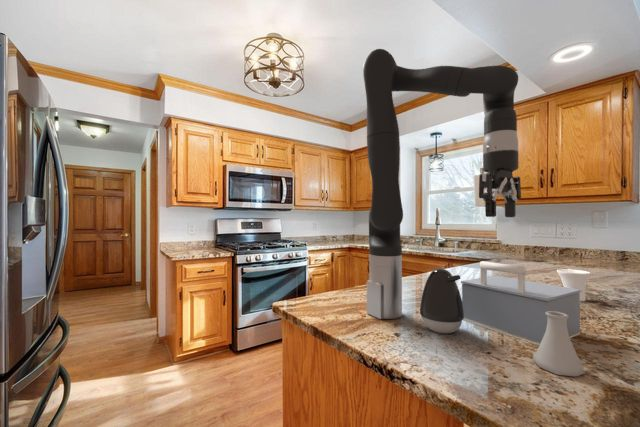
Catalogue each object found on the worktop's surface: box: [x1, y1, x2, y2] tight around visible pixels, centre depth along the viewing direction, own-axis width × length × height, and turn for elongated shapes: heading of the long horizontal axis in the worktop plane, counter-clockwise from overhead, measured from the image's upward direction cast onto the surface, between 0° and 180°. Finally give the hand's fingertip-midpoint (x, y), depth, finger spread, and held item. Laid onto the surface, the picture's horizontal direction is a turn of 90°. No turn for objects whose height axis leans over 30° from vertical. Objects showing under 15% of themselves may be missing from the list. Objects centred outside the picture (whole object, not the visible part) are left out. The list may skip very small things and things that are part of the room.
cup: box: [556, 268, 591, 302], centre depth 102 cm, size 9×9×10 cm
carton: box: [461, 283, 581, 346], centre depth 76 cm, size 16×20×10 cm
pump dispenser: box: [419, 268, 464, 335], centre depth 73 cm, size 10×10×15 cm
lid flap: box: [460, 260, 581, 301], centre depth 76 cm, size 16×20×7 cm
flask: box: [532, 311, 586, 377], centre depth 55 cm, size 7×7×10 cm
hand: (500, 217), depth 73 cm, fingers open, 8 cm apart
